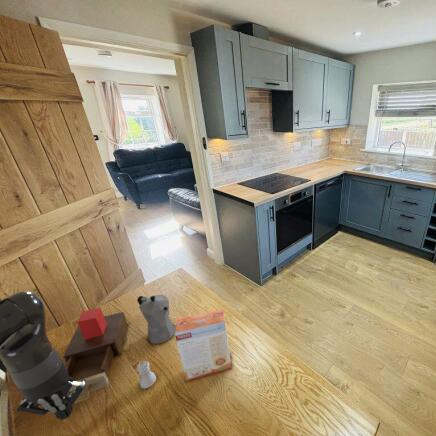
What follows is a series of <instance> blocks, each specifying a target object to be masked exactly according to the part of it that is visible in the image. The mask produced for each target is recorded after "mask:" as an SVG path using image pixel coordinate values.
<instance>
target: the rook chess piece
mask: <svg viewBox="0 0 436 436" xmlns="http://www.w3.org/2000/svg"><path fill="white" fill-rule="evenodd" d="M150 369H151V367H150V363H149V361H146V360H142V361H140V362H139V364H138V365H137V368H136V371H137V372H138V373H139V375H140V379H139V387H140V388H141V389H148V388H151V386H153V385H154V384H155V382H156V380H157V376H156V374H155V372H153V371H151V370H150Z"/></svg>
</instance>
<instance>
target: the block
mask: <svg viewBox="0 0 436 436" xmlns="http://www.w3.org/2000/svg"><path fill="white" fill-rule="evenodd" d="M76 323H77V326H78V325H79V327H80V329H81V332H82V334H83V336H84V338H85V340H86V339H89V338H93V337H97V336H101V335H103V333H104V331H105V328H106V325H107V324H106V321H105V319H104V313H103V311H102V309H101V307H96V308H91V309H88V310H83V311H82V312H81V314H80V316H79V318H78V319H77V321H76Z"/></svg>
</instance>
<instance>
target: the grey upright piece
mask: <svg viewBox="0 0 436 436" xmlns="http://www.w3.org/2000/svg"><path fill="white" fill-rule="evenodd" d="M136 302H137V303H138V305H139V306H138V308H139V310H140V312H141V314H142V315H143V317H144V319H145V321H146V323H147V338H148V339H149V342H150V343H151V344H155V345H157V344H163V343H165V342H167V341H168V340H170V339H171V338H172V337H173V336H174V335H175V329H176V327H175V326H174V324H173V322H172V320H171V318H170V300H169V298H168V297H167V296H166V295H165V294H155V295H151V296H150V297H147V296H143V295H140V296H138V297H137V299H136Z"/></svg>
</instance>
